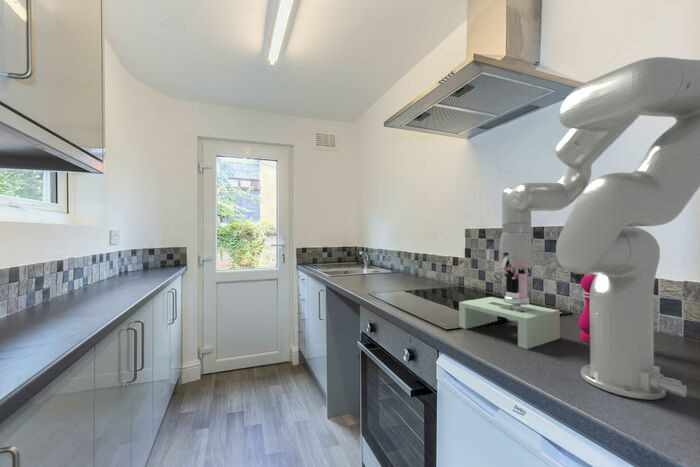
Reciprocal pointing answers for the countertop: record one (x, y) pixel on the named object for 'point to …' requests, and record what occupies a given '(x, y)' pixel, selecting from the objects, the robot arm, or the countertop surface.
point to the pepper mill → (586, 308)
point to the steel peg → (518, 295)
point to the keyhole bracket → (532, 324)
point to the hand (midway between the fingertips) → (516, 290)
